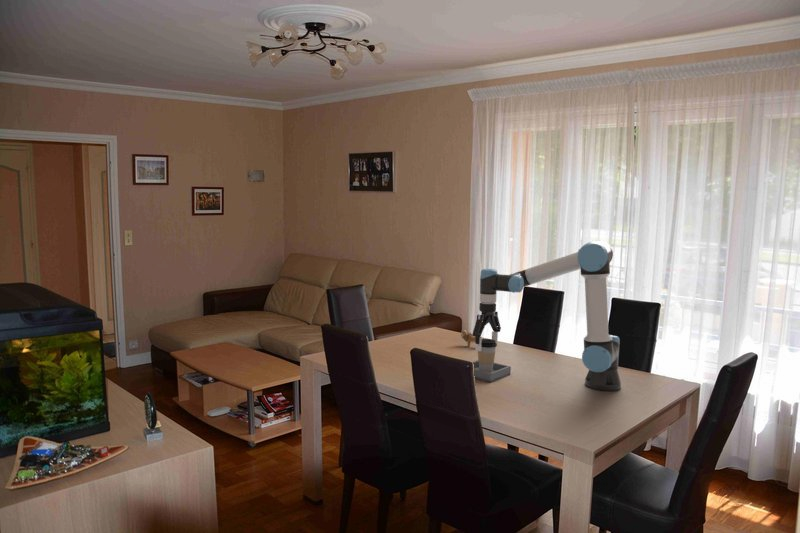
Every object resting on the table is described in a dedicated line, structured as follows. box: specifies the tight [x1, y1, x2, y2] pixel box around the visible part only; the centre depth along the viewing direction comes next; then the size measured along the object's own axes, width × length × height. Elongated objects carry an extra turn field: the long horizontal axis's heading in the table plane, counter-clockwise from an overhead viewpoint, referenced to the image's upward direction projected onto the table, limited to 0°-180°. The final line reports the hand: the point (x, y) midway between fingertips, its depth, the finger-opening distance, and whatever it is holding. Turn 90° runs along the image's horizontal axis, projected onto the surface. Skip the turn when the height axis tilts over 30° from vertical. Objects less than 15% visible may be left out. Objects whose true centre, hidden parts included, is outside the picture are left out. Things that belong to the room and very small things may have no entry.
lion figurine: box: [460, 329, 475, 348], centre depth 330 cm, size 15×5×9 cm, turn 66°
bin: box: [472, 359, 512, 383], centre depth 280 cm, size 17×17×4 cm
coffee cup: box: [477, 338, 498, 373], centre depth 280 cm, size 9×9×15 cm
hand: (486, 348), depth 279 cm, fingers open, 13 cm apart
